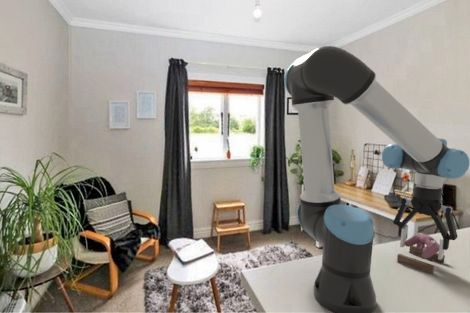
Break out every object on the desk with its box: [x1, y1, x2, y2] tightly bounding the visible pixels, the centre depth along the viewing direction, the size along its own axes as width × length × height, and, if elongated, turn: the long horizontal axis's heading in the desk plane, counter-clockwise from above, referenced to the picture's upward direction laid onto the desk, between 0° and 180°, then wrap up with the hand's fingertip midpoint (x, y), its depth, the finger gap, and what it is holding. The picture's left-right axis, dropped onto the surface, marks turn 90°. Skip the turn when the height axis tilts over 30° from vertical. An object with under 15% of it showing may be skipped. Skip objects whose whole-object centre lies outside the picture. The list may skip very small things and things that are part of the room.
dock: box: [396, 245, 446, 275], centre depth 93 cm, size 12×10×2 cm
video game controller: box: [405, 232, 440, 259], centre depth 93 cm, size 10×5×7 cm, turn 2°
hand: (420, 251), depth 93 cm, fingers closed on video game controller, 10 cm apart
